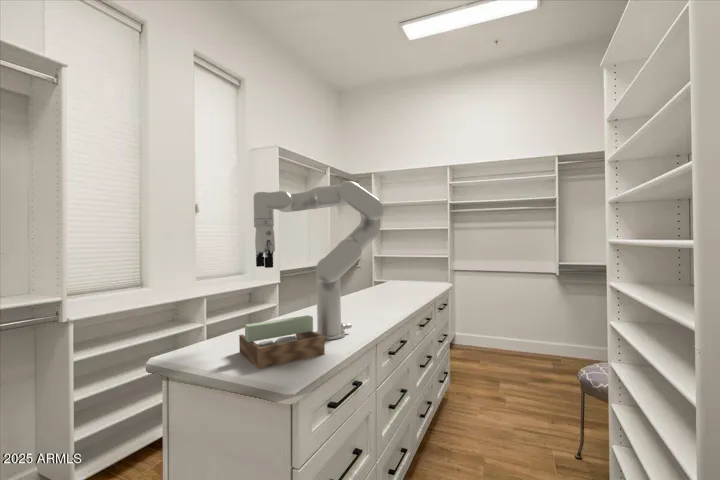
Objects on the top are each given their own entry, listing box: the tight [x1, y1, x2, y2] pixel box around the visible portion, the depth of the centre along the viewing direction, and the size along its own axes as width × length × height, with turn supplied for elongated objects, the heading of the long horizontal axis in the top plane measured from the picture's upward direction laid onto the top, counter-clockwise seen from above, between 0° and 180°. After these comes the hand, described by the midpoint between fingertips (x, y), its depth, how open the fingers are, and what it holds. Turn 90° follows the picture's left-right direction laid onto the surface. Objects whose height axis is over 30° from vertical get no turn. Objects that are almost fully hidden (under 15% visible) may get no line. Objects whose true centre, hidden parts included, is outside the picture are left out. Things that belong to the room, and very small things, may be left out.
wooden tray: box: [238, 330, 326, 370], centre depth 119 cm, size 22×20×6 cm
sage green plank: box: [244, 315, 314, 342], centre depth 120 cm, size 23×4×5 cm, turn 125°
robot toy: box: [256, 334, 298, 347], centre depth 120 cm, size 12×4×15 cm
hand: (264, 267), depth 138 cm, fingers open, 9 cm apart
